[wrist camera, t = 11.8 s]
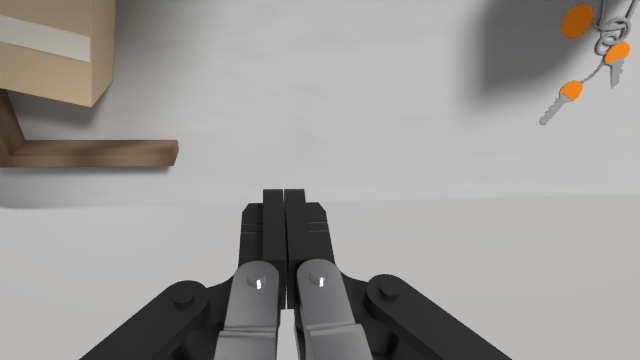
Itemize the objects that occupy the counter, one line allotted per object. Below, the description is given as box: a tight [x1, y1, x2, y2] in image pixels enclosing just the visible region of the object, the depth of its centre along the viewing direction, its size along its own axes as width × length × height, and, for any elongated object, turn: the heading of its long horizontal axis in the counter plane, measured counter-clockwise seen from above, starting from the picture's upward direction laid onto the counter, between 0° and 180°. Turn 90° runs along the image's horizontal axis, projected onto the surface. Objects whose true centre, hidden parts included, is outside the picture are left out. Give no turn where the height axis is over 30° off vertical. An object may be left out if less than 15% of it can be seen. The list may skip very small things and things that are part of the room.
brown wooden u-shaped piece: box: [0, 88, 179, 167], centre depth 29 cm, size 13×17×2 cm
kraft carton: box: [0, 0, 116, 107], centre depth 27 cm, size 8×8×5 cm
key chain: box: [539, 0, 639, 125], centre depth 35 cm, size 13×7×1 cm, turn 5°
